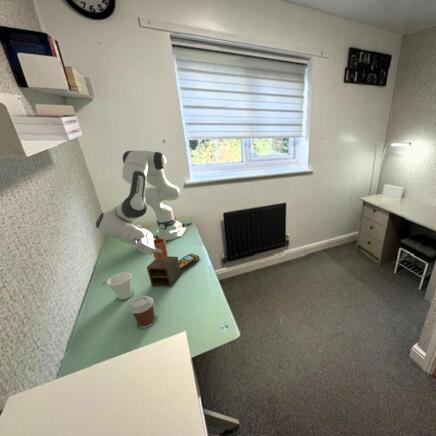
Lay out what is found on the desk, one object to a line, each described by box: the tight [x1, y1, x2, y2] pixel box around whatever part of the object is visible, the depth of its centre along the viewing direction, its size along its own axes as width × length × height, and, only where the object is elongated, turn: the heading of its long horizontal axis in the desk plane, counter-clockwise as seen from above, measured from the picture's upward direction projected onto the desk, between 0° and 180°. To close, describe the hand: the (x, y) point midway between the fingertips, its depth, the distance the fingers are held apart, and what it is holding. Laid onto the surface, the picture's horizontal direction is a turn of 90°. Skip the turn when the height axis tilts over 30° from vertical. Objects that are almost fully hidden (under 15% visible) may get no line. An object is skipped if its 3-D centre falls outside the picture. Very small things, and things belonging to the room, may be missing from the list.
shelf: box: [146, 255, 182, 288], centre depth 130 cm, size 11×11×12 cm
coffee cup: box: [128, 295, 156, 329], centre depth 103 cm, size 9×9×12 cm
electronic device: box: [178, 252, 200, 272], centre depth 145 cm, size 8×16×3 cm, turn 154°
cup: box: [106, 271, 133, 300], centre depth 118 cm, size 10×10×11 cm
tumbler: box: [152, 237, 169, 260], centre depth 124 cm, size 6×6×9 cm
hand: (160, 247), depth 124 cm, fingers closed on tumbler, 6 cm apart
